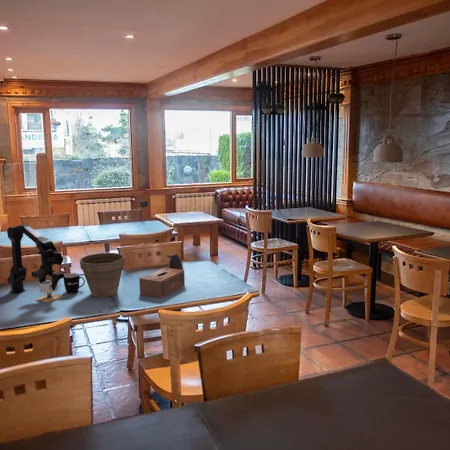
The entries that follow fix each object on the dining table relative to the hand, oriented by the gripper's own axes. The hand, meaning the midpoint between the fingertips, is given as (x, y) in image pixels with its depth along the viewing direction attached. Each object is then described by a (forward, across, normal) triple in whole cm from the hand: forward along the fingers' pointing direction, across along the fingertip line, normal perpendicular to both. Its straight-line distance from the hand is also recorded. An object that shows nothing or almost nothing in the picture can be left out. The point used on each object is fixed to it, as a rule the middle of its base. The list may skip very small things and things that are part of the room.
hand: (48, 289), depth 274 cm
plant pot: (+6, +24, +18) cm, 31 cm away
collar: (+1, 0, 0) cm, 1 cm away
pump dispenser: (+6, +48, +63) cm, 79 cm away
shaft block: (+6, 0, 0) cm, 6 cm away
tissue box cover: (+6, +53, +36) cm, 64 cm away
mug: (+6, +5, +16) cm, 18 cm away
